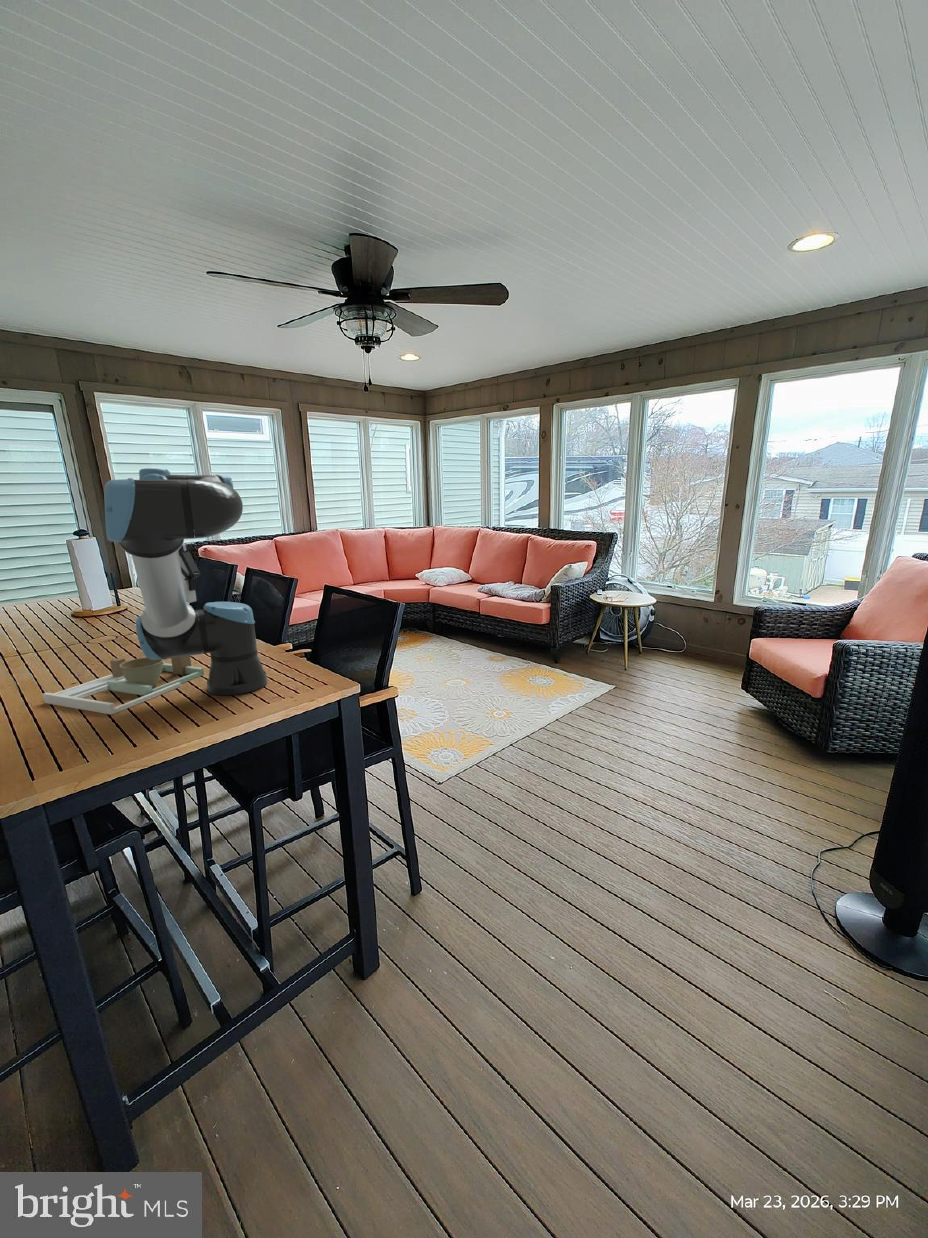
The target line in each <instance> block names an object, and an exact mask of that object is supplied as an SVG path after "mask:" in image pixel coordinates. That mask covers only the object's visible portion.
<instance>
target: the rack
mask: <svg viewBox="0 0 928 1238" xmlns="http://www.w3.org/2000/svg"><path fill="white" fill-rule="evenodd" d="M110 676H113V675H112V673H110V674H109V675H105V676H102V677H99V678H96V679H93V680H91V681H87V682H84V683H82V684H78V685H76V686H72V687H68V688H66V689H62V690H60V691H57V692H54V693H52V692H44V693H42V697H43V700H44V701H43V702H44V704H48V705H54V706H59V707H65V708H72V709H76V710H83V711H89V712H95V713H101V714H105V715H106V714H107V715H114V714H116V713H117V714H118V713H119V712H121V711H123V710H126V709H129V708H131V707H134V706H136V705H139V704H141V703H143V702H146V701H149V700H151V699H153V698H156V697H158V696H161V695H163V694H165V693H168V692H170V691H174V690H175V689H177V688H178V689H179V688H180V687H182V683H179V682H178V683H175V684H173V685H170V686H168V687H165V688H163V689H160V690H158V691H155V692H153V693H150V694H148V695H145V696H144V695H142V696H141V697H138V698H135V699H132V700H130V701H127V702H125V703H122V704H121V705H117V706H115V703H113V702H107V701H103V700H102V701H101V700H95V699H89V698H86V697H90V696H93V695H96V694H98V693H101V692H104V691H107V690H108V686H107V685H104V686H101V687H98V688H95V689H93V690H90V691H87V692H84V693H81V694H78V695H75V696H66V695H60V694H59V693H62V692H65V691H68V690H71V689H74V688H77V687H80V686H83V685H86V684H89V683H92V682H95V681H98V680H101V679H104V678H107V677H110ZM123 680H126V679H125V678H124V679H121V680H118V681H123Z"/></svg>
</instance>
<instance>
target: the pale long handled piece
mask: <svg viewBox="0 0 928 1238" xmlns="http://www.w3.org/2000/svg"><path fill="white" fill-rule="evenodd" d="M123 662H126V659H125V658H123V657H122V658H121V657H117V658H114V659H110V660H109V663H110V669H111V674H112V675H113V676H110V677H107V678H104V679H101V680H98V681H95V682H92V683H89V684H86V685H83V686H80V687H77V688H74V689H71V690H68V691H65V692H62V693H59V694H60V695H66V696H75V695H78V694H81V693H84V692H87V691H90V690H93V689H95V688H98V687H101V686H104V685H107V681H109V680H115V681H118V680H121V679H124V678H125V677H124V676H123V674H122V672H121V669H120V664H122V663H123Z"/></svg>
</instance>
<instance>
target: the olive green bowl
mask: <svg viewBox="0 0 928 1238" xmlns="http://www.w3.org/2000/svg"><path fill="white" fill-rule="evenodd" d="M163 662H164V660H163V659H158V660H151V659H148V658H147V657H146V656H145V657H139V658H134V659H130V660H127V661H126V660H125V662H123V663H122V664H120V669H121V672H122V674H123V676H124V677H125V679H126V680H127V682H129V683H136V684H143V685H150V686H152V689H154V688H156V686H157V684H158V682H159V679H160V677H161V675H162V672H161V671H162V665H163V664H164V663H163Z"/></svg>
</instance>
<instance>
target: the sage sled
mask: <svg viewBox="0 0 928 1238" xmlns="http://www.w3.org/2000/svg"><path fill="white" fill-rule="evenodd" d="M170 660H171V663H167V662H165V663H163V665H162V671H161V673H163V672H170V673H173V675H179V676H183V675H185V676H183V677H180V678H178V679H175V680H172V681H169V682H167V683H164V684H162V685H159V686H157V687H156V686H155V687H153V688H152V686H150V685H143V684H136V683H129V682H127V680H123V681H115V680H109V681H107V686H108V689H107V690H108V691H112V692H118V693H119V692H120V693H125V694H133V695H138V696H145V695H148V694H150V693H153V692H155V691H158V690H160V689H163V688H165V687H168V686H170V685H173V684H175V683H178V682H179V683H181V684H184V683H187V682H190V681H191V680H193V679H196V678H199V677H201V676H203V675H205V671H204V667H198V666H192V659H191V656H183V657H176V658H170Z"/></svg>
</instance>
